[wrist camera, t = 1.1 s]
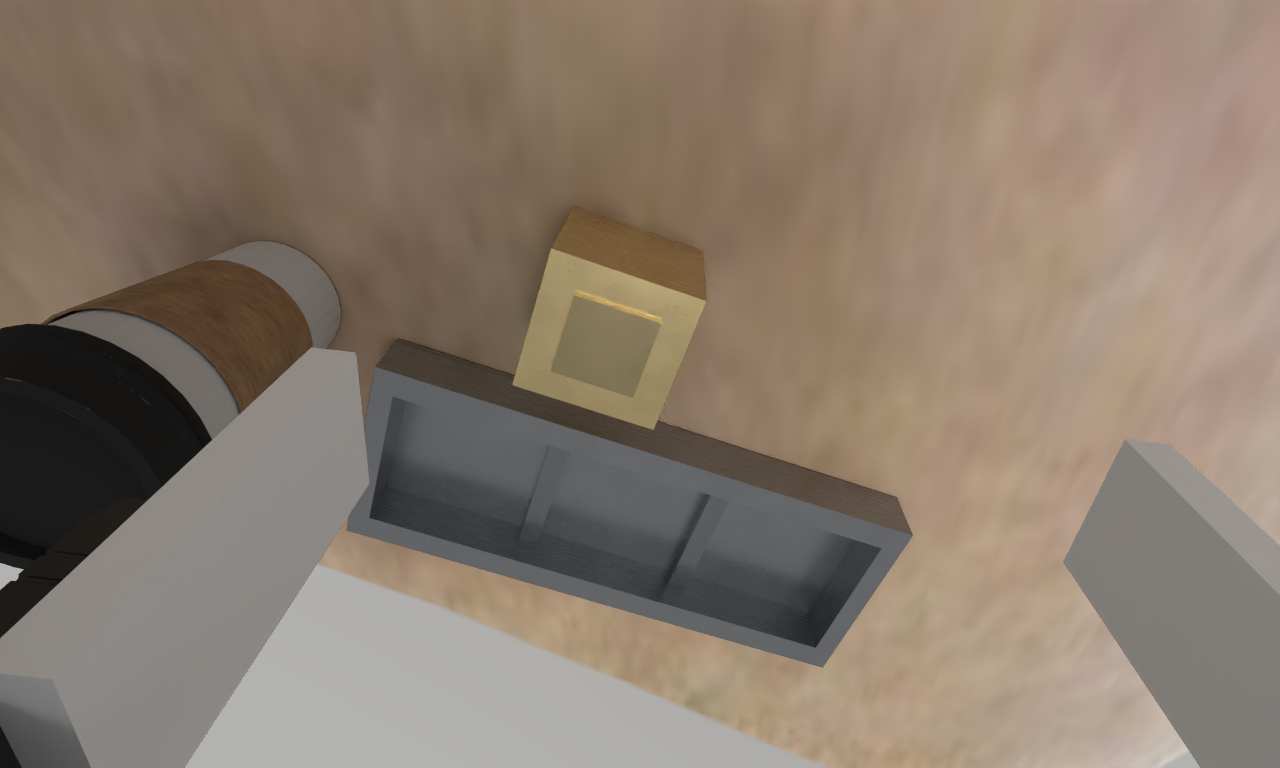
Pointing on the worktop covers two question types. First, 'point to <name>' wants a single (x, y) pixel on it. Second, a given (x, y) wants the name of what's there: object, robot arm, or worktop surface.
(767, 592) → the grey divided tray
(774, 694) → the worktop surface
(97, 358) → the coffee cup
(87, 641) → the robot arm
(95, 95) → the worktop surface
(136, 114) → the worktop surface
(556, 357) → the recessed panel cube
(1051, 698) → the worktop surface
